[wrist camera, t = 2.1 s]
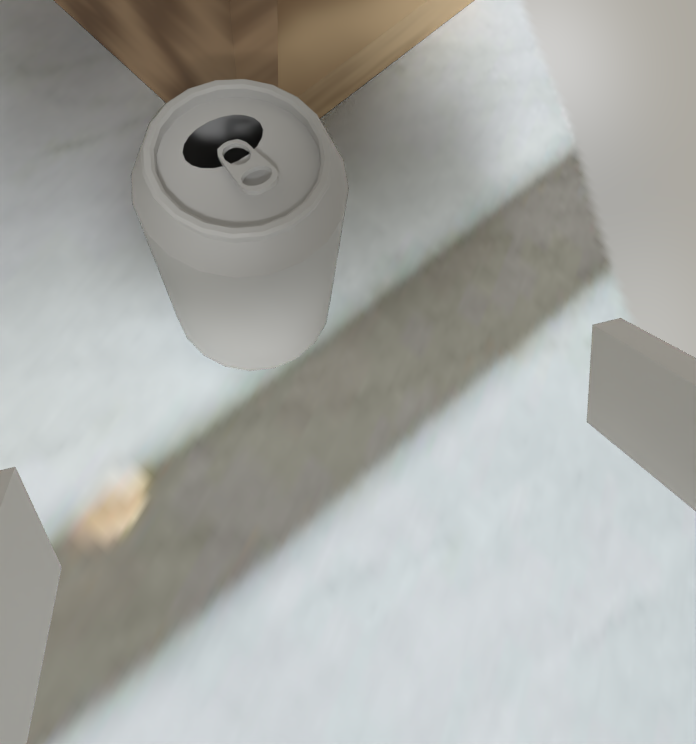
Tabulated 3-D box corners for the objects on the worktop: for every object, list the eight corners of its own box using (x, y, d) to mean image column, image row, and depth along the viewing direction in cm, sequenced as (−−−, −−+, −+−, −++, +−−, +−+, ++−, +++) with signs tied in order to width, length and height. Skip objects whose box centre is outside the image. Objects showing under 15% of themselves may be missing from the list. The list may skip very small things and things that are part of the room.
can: (275, 217, 33) (271, 26, 22) (357, 326, 32) (398, 181, 20) (150, 286, 31) (73, 116, 20) (231, 405, 30) (198, 294, 18)
